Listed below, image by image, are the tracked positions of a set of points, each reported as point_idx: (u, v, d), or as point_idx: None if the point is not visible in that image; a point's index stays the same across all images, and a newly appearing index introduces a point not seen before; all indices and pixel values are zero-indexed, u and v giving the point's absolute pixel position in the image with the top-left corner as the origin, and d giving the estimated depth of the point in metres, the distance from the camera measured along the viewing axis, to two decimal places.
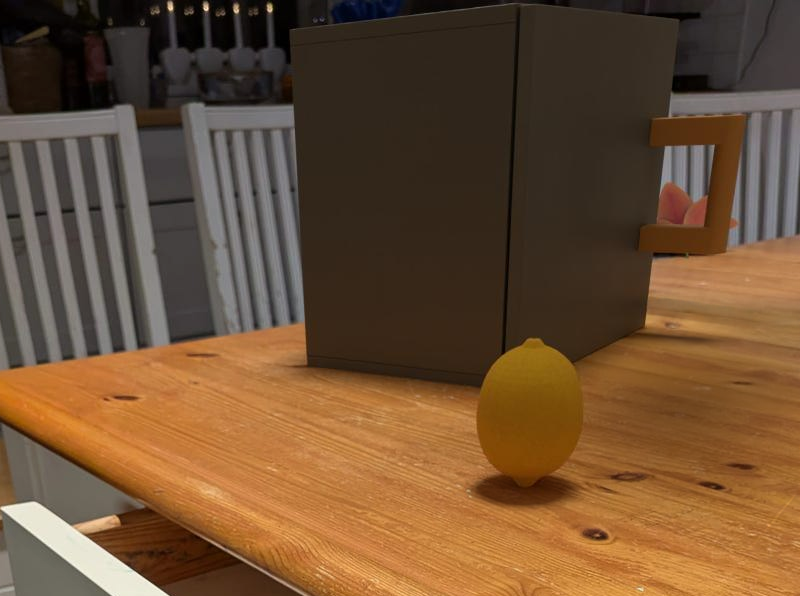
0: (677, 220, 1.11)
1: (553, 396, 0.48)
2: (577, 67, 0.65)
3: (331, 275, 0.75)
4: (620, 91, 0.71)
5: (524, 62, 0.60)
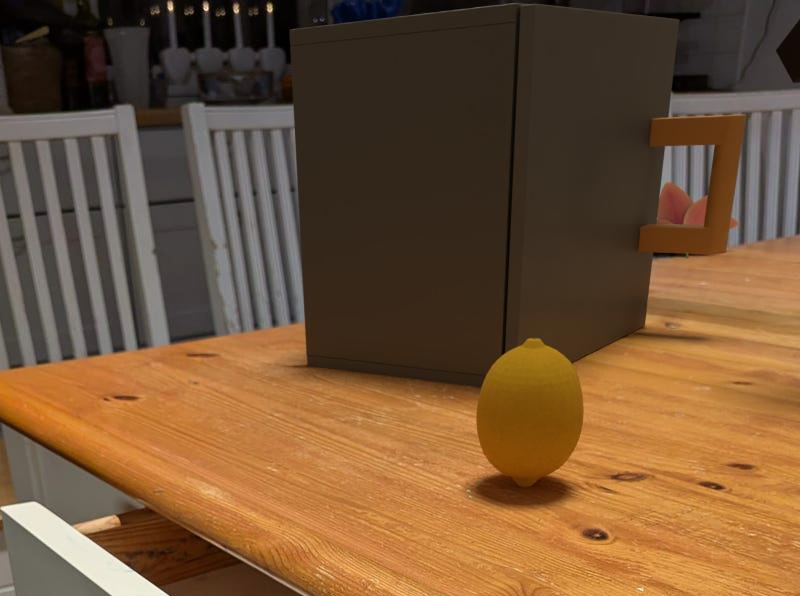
0: (677, 220, 1.11)
1: (553, 396, 0.48)
2: (577, 67, 0.65)
3: (331, 275, 0.75)
4: (620, 91, 0.71)
5: (524, 62, 0.60)
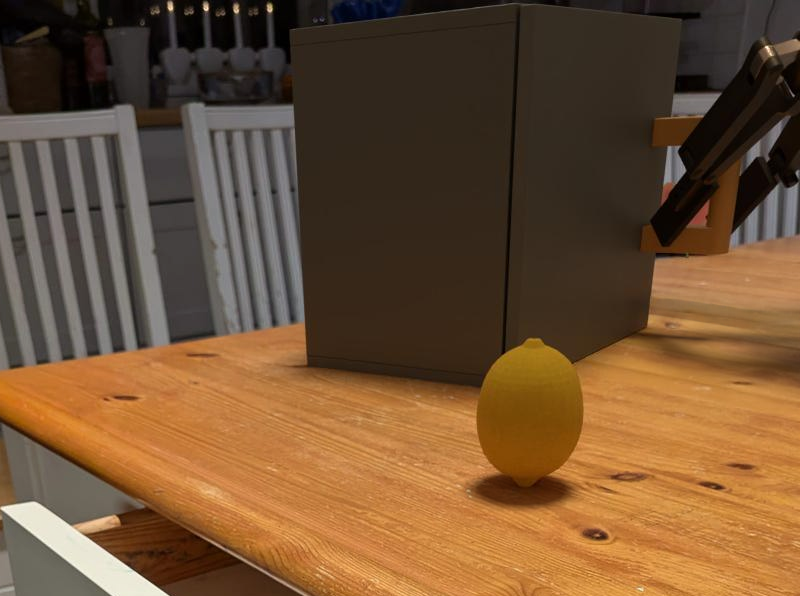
0: None
1: (553, 396, 0.48)
2: (578, 67, 0.65)
3: (331, 275, 0.75)
4: (622, 91, 0.71)
5: (524, 62, 0.60)
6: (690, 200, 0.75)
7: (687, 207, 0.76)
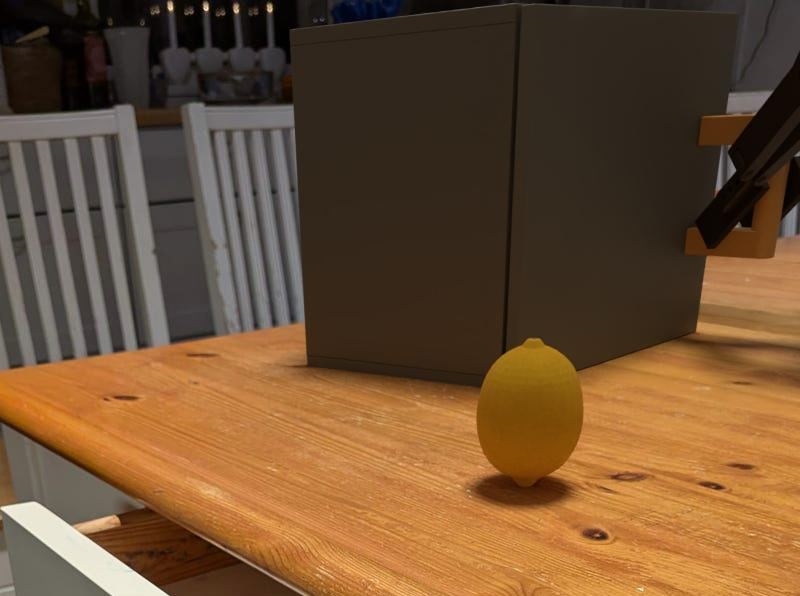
0: None
1: (553, 396, 0.48)
2: (594, 66, 0.64)
3: (331, 275, 0.75)
4: (656, 89, 0.69)
5: (524, 62, 0.60)
6: (739, 201, 0.72)
7: (735, 208, 0.73)
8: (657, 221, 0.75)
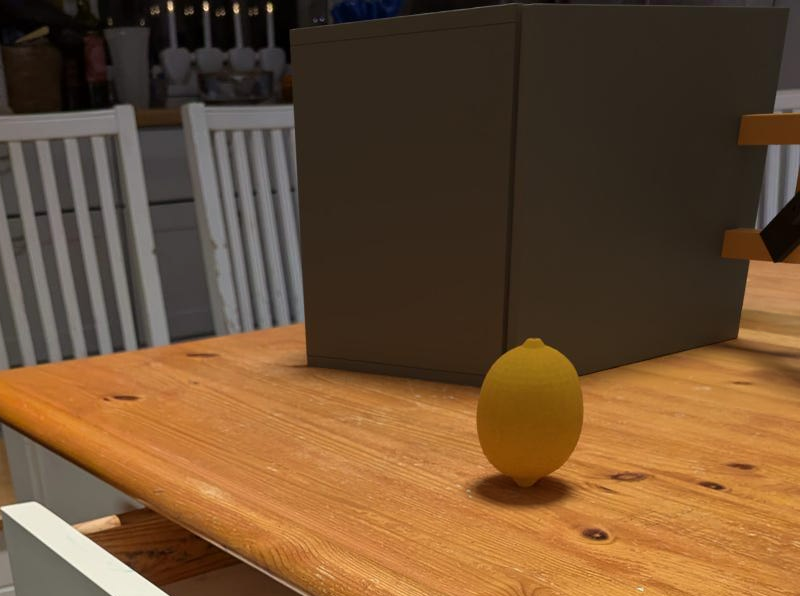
0: None
1: (553, 396, 0.48)
2: (606, 65, 0.63)
3: (331, 275, 0.75)
4: (683, 88, 0.68)
5: (524, 62, 0.60)
6: None
7: None
8: (687, 223, 0.73)
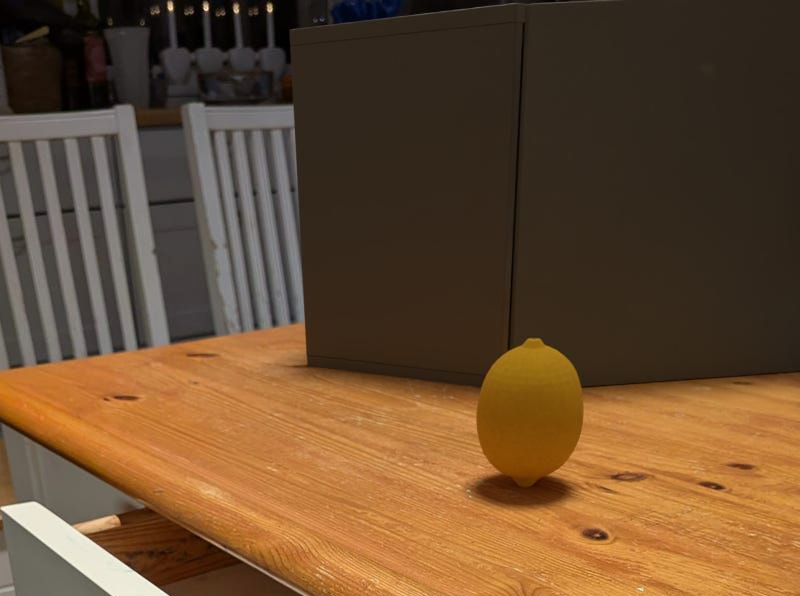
0: None
1: (553, 396, 0.48)
2: (634, 61, 0.60)
3: (331, 275, 0.75)
4: (754, 83, 0.62)
5: (524, 62, 0.60)
6: None
7: None
8: (763, 232, 0.66)
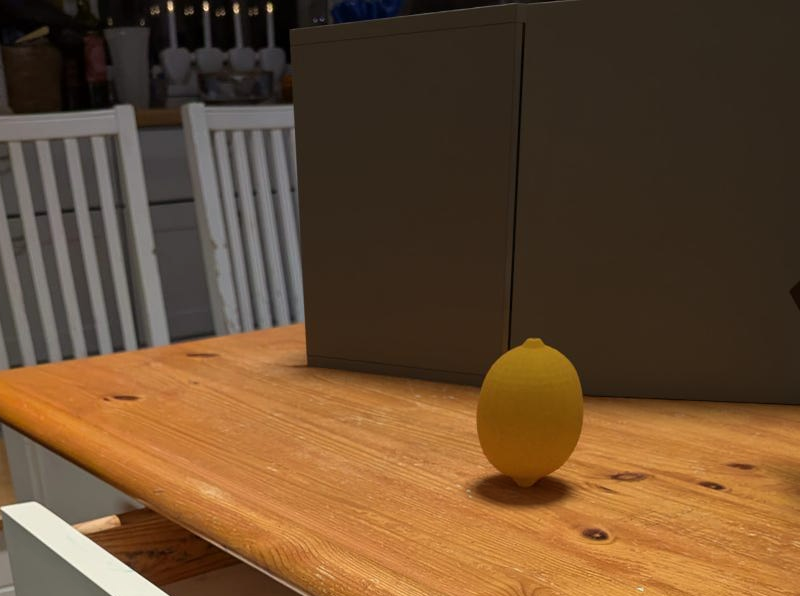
0: None
1: (553, 396, 0.48)
2: (638, 59, 0.58)
3: (331, 275, 0.75)
4: (780, 81, 0.56)
5: None
6: None
7: None
8: (793, 246, 0.59)
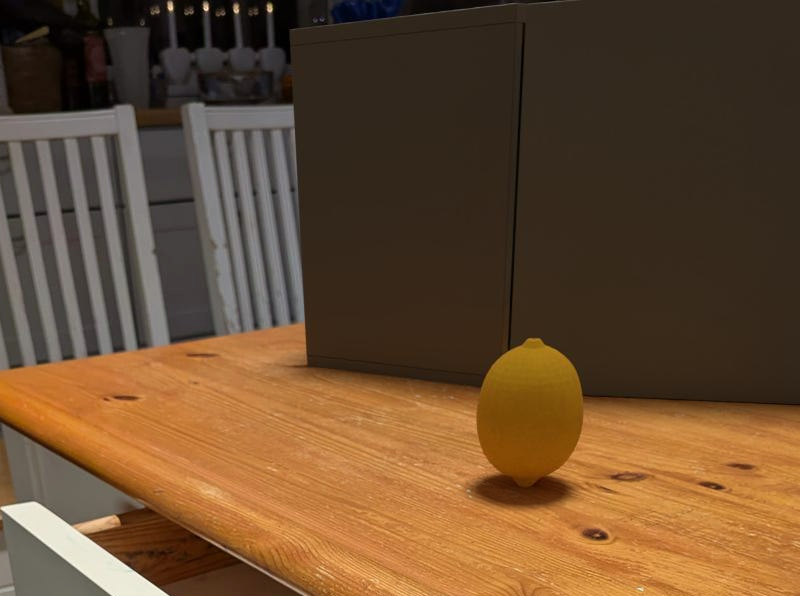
0: None
1: (553, 396, 0.48)
2: (638, 59, 0.58)
3: (331, 275, 0.75)
4: (780, 81, 0.56)
5: None
6: None
7: None
8: (793, 246, 0.59)
